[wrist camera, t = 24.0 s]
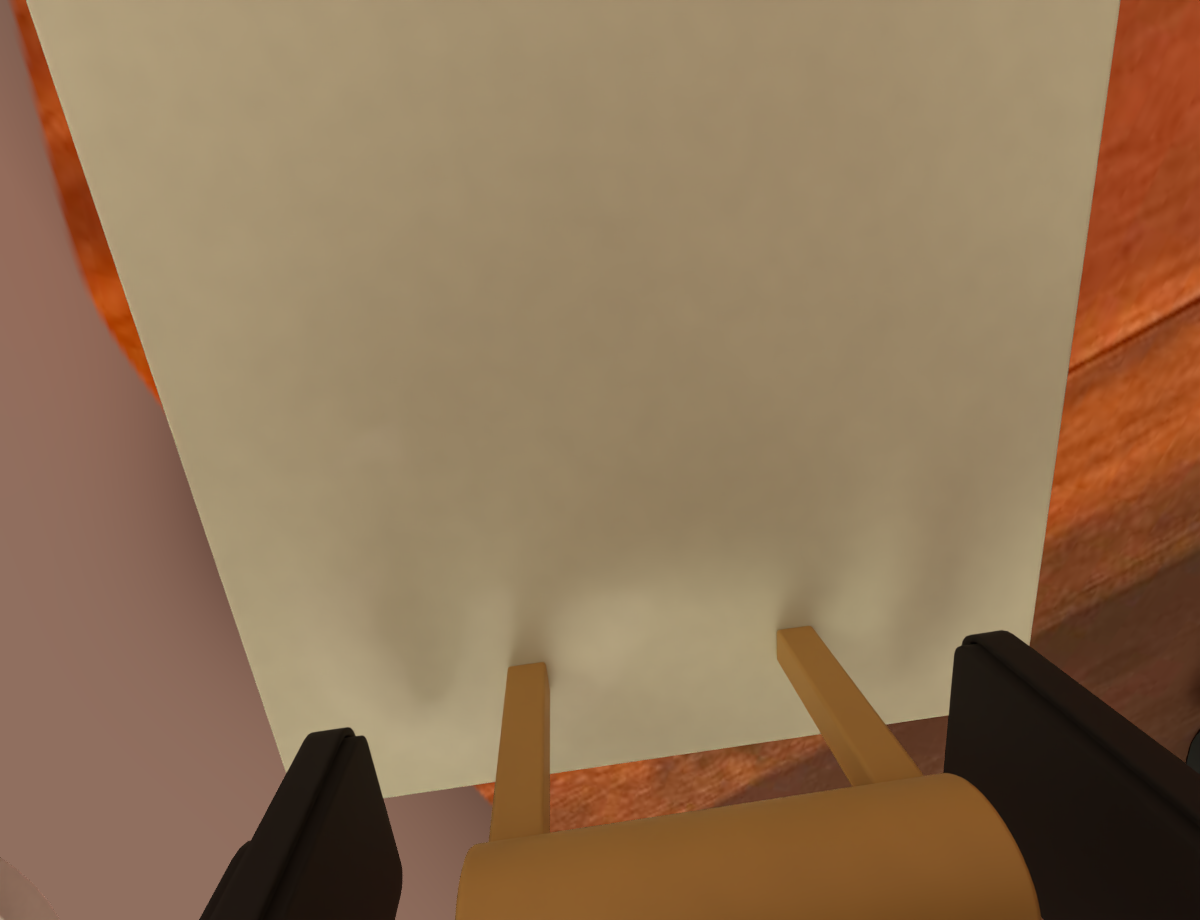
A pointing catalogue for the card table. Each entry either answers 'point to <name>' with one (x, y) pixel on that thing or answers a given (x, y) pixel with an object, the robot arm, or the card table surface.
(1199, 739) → the mug
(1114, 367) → the card table surface
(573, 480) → the lid
